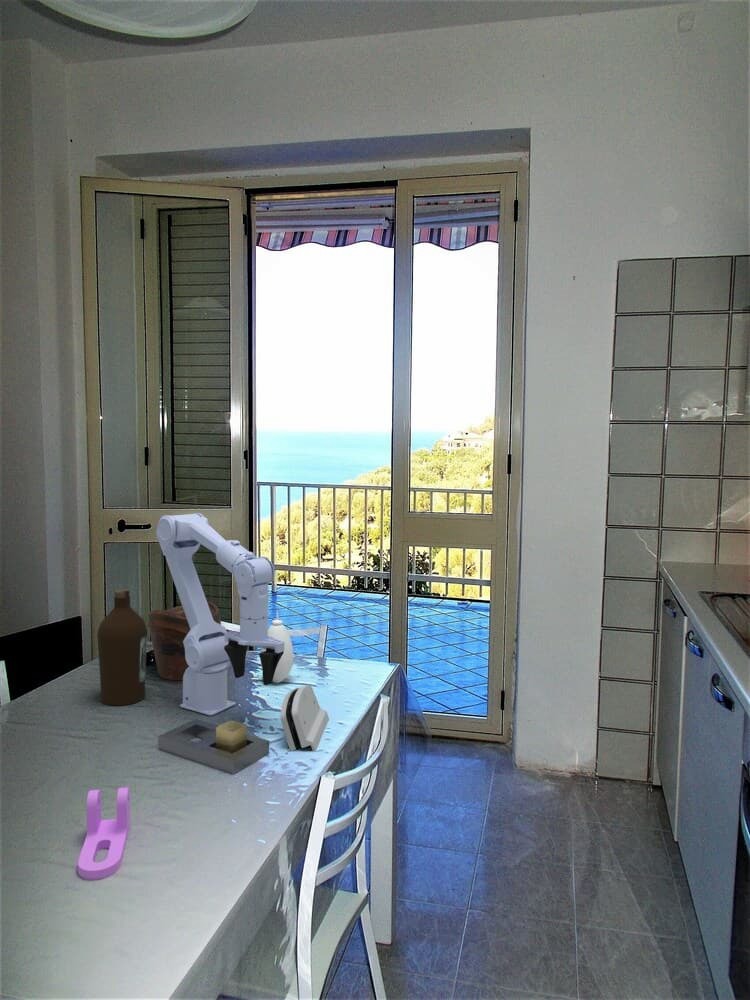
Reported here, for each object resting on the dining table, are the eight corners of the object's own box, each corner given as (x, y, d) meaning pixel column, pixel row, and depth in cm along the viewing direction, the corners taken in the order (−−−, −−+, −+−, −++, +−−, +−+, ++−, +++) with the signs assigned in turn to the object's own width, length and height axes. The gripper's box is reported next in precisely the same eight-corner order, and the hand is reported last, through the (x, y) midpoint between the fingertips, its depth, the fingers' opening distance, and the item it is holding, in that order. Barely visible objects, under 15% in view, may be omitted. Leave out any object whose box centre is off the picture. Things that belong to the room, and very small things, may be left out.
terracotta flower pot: (221, 657, 190) (220, 593, 188) (221, 683, 171) (220, 611, 169) (153, 661, 186) (151, 595, 185) (145, 688, 167) (143, 615, 165)
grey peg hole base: (158, 748, 134) (158, 736, 134) (196, 730, 142) (195, 718, 142) (233, 774, 124) (233, 760, 124) (269, 753, 133) (269, 740, 133)
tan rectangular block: (230, 750, 134) (230, 720, 133) (246, 755, 132) (246, 724, 131) (216, 758, 130) (216, 727, 130) (232, 763, 128) (232, 732, 128)
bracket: (91, 829, 106) (91, 785, 106) (130, 826, 107) (129, 782, 107) (74, 882, 93) (73, 833, 93) (118, 877, 95) (117, 828, 94)
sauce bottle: (254, 681, 172) (254, 610, 170) (278, 674, 178) (278, 604, 176) (275, 689, 167) (275, 615, 165) (299, 681, 173) (300, 610, 171)
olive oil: (96, 709, 153) (94, 596, 150) (99, 692, 163) (98, 586, 161) (147, 704, 156) (146, 594, 154) (147, 688, 166) (147, 584, 164)
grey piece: (315, 752, 134) (298, 703, 133) (292, 758, 134) (275, 710, 134) (329, 718, 150) (314, 674, 150) (308, 724, 151) (293, 680, 150)
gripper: (214, 615, 145) (214, 679, 146) (269, 625, 137) (268, 692, 139) (237, 608, 151) (236, 669, 152) (291, 618, 143) (290, 682, 145)
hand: (253, 680), depth 146 cm, fingers open, 7 cm apart
